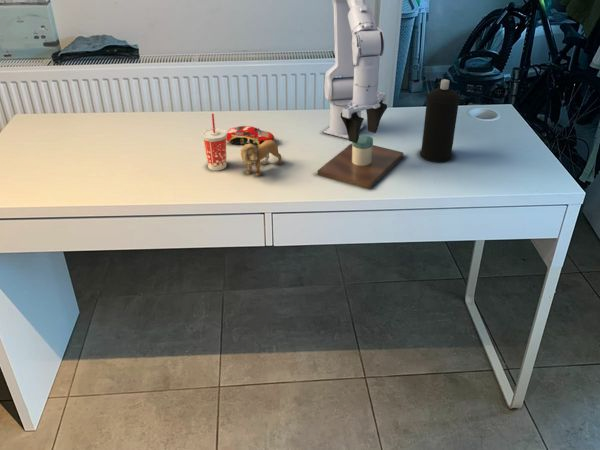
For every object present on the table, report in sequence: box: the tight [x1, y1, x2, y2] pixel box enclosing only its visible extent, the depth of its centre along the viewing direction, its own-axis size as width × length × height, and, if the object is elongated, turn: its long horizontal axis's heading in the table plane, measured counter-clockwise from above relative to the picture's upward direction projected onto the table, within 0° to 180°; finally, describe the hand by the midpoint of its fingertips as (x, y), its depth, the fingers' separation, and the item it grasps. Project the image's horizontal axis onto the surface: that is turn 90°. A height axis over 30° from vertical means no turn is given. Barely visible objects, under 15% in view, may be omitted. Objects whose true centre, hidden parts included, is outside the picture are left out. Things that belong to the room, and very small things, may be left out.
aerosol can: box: [419, 78, 461, 163], centre depth 154 cm, size 8×8×20 cm
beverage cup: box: [201, 113, 228, 171], centre depth 151 cm, size 6×6×14 cm
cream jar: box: [351, 134, 374, 166], centre depth 153 cm, size 5×5×6 cm
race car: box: [226, 125, 276, 146], centre depth 166 cm, size 13×5×4 cm, turn 76°
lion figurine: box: [240, 140, 282, 177], centre depth 151 cm, size 15×5×9 cm, turn 150°
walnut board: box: [317, 143, 404, 190], centre depth 155 cm, size 20×14×1 cm
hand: (362, 136), depth 151 cm, fingers open, 7 cm apart
